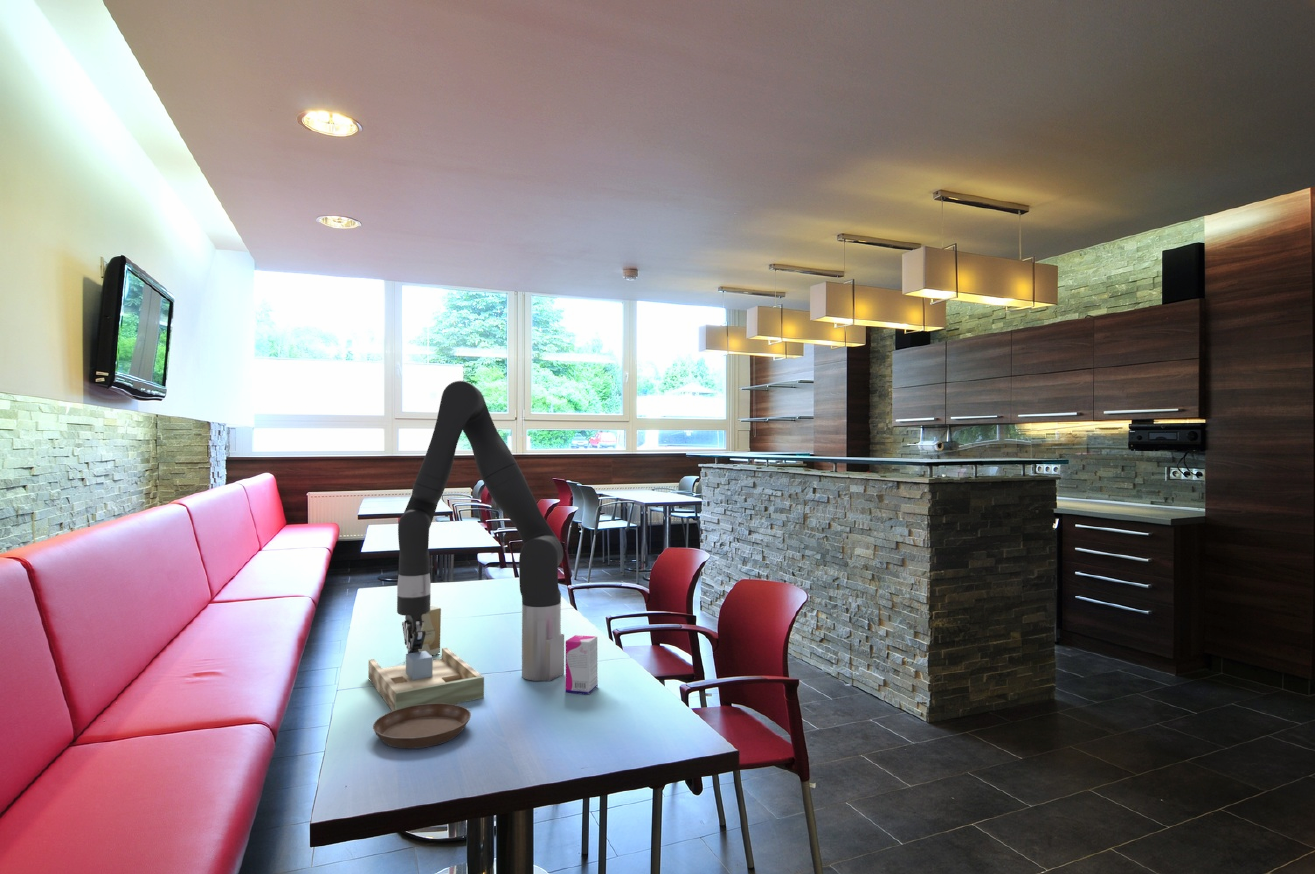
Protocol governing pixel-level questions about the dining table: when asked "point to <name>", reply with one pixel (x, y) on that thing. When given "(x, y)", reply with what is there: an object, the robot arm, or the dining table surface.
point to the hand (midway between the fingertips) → (413, 665)
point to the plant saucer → (421, 725)
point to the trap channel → (428, 683)
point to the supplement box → (581, 664)
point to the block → (419, 665)
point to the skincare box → (432, 631)
